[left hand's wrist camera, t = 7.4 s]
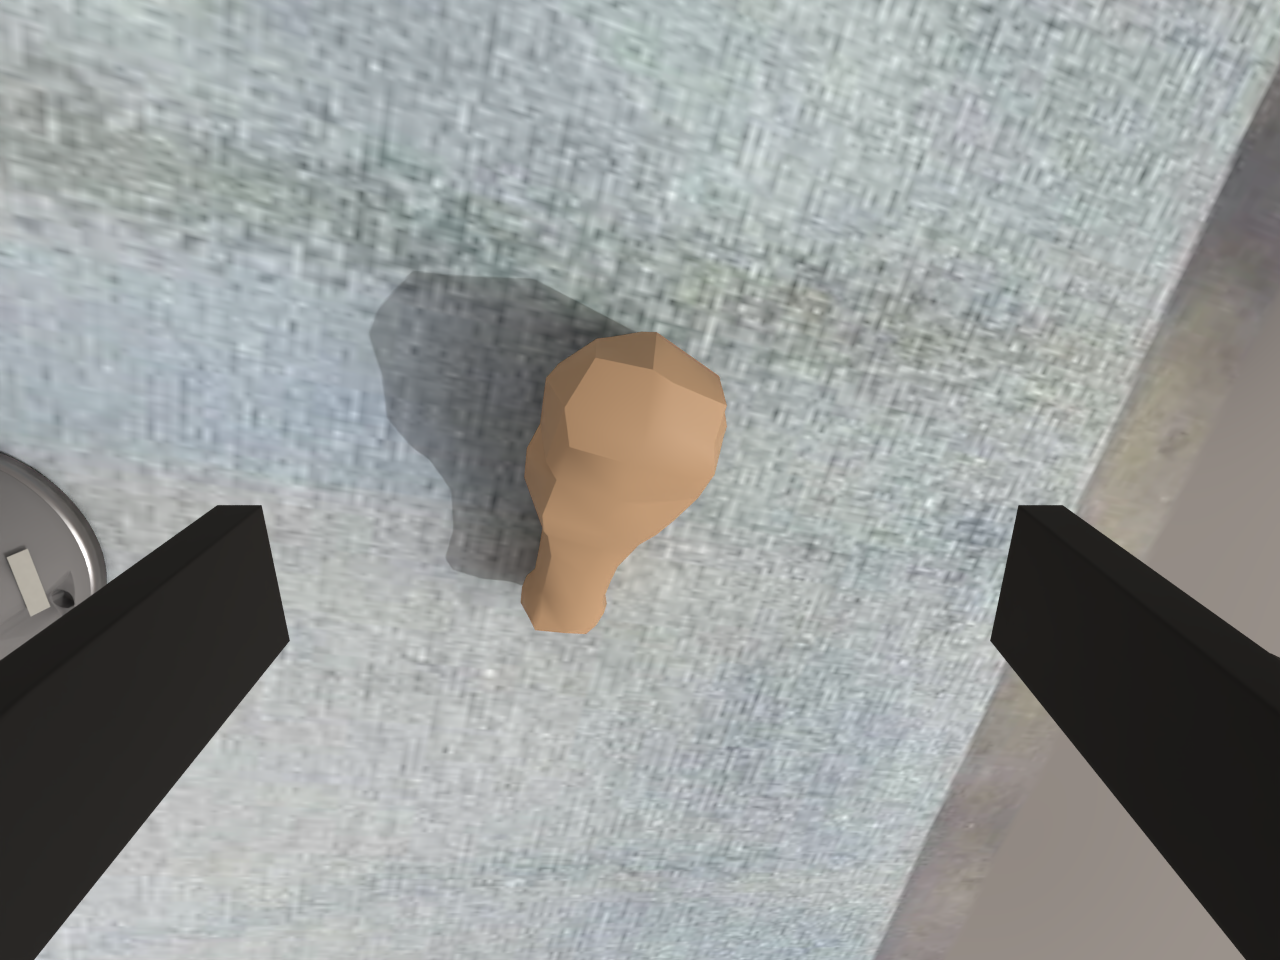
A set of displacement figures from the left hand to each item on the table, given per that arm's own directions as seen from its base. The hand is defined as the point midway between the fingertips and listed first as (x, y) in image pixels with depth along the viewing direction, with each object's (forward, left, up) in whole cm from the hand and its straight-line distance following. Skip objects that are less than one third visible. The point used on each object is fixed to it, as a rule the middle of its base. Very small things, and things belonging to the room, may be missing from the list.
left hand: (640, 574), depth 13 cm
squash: (-6, -8, -31) cm, 32 cm away
